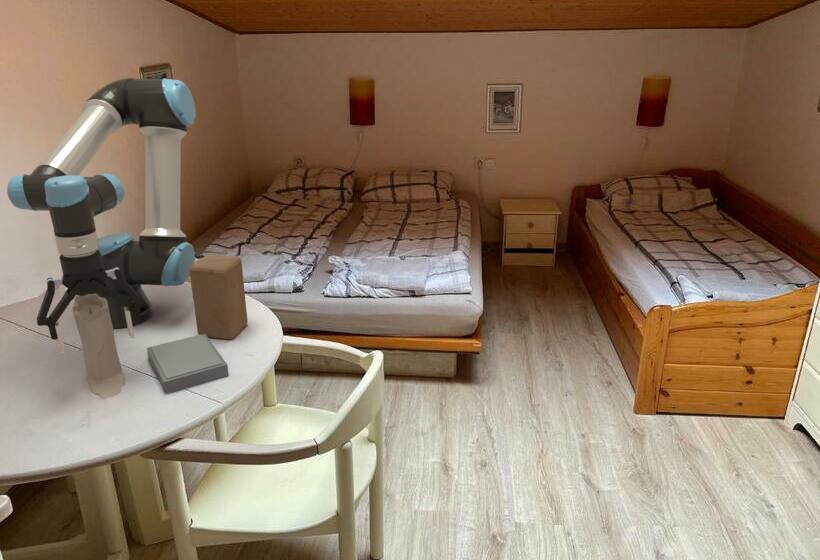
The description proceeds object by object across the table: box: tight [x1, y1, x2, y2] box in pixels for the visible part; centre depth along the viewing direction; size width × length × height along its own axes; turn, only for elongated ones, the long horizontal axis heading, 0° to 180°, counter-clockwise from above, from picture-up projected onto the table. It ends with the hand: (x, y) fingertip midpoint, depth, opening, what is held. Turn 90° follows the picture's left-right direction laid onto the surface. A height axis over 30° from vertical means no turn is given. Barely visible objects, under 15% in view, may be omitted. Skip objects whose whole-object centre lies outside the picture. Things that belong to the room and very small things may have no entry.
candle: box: [71, 294, 126, 399], centre depth 129 cm, size 7×14×20 cm, turn 32°
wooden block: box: [189, 254, 249, 340], centre depth 153 cm, size 10×10×20 cm
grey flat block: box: [146, 334, 229, 394], centre depth 139 cm, size 18×14×3 cm
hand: (98, 343), depth 129 cm, fingers open, 13 cm apart
